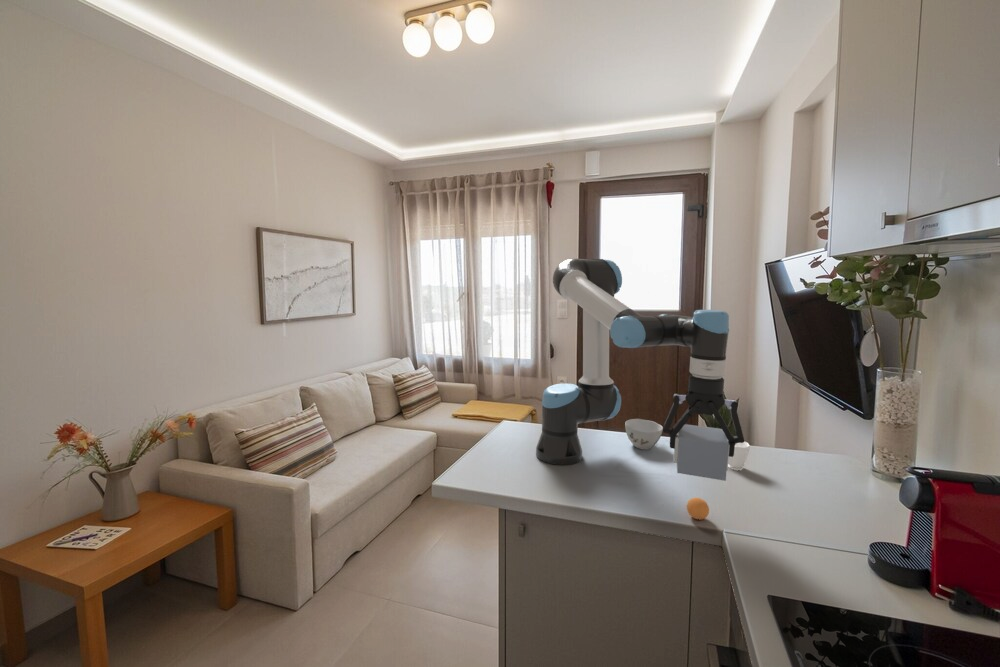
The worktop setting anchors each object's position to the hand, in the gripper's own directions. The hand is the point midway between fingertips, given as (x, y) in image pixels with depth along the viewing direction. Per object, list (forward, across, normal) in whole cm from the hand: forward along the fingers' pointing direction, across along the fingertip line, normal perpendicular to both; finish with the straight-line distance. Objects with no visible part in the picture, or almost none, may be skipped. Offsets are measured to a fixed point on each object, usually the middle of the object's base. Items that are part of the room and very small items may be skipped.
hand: (699, 464), depth 103 cm
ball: (+11, 0, 0) cm, 11 cm away
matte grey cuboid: (+1, 0, 0) cm, 1 cm away
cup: (+14, +12, +36) cm, 40 cm away
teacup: (+14, -14, +43) cm, 47 cm away
